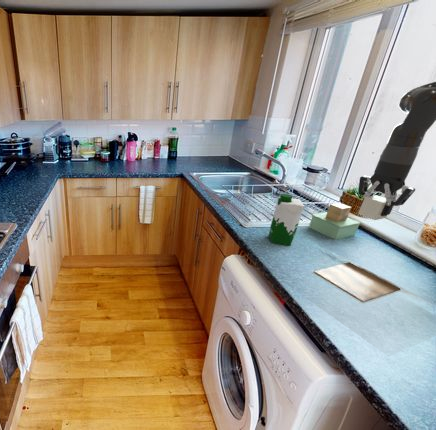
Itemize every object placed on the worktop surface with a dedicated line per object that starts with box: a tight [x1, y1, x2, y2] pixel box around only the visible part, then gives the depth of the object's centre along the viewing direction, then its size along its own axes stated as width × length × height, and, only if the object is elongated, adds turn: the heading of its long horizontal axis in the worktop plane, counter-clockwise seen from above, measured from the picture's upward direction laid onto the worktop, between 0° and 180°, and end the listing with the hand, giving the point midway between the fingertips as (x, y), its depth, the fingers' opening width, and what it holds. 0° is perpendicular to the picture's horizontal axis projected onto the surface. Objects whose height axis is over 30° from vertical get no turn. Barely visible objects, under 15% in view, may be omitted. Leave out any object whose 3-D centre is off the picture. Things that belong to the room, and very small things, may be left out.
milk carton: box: [268, 193, 305, 247], centre depth 116 cm, size 9×9×20 cm
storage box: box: [308, 211, 362, 241], centre depth 124 cm, size 13×13×8 cm
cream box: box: [357, 194, 388, 221], centre depth 92 cm, size 6×5×6 cm
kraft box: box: [326, 202, 352, 222], centre depth 121 cm, size 6×5×6 cm
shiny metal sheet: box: [313, 261, 401, 303], centre depth 96 cm, size 18×16×1 cm
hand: (373, 211), depth 92 cm, fingers closed on cream box, 5 cm apart
